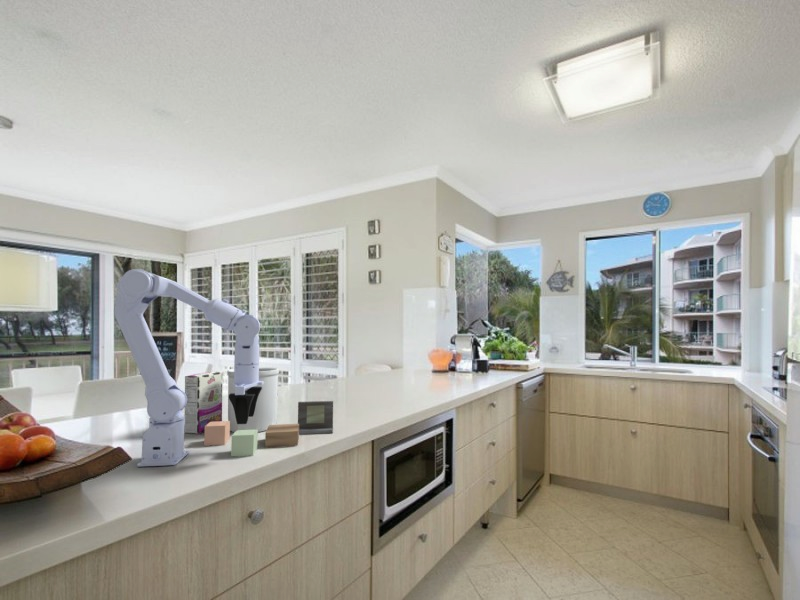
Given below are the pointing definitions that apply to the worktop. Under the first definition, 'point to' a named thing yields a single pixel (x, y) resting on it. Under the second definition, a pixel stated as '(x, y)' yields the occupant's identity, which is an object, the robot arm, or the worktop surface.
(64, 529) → the worktop surface
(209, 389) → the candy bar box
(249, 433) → the sage cube
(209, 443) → the terracotta cube
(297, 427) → the walnut base block
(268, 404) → the utensil holder
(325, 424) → the dark grey box
